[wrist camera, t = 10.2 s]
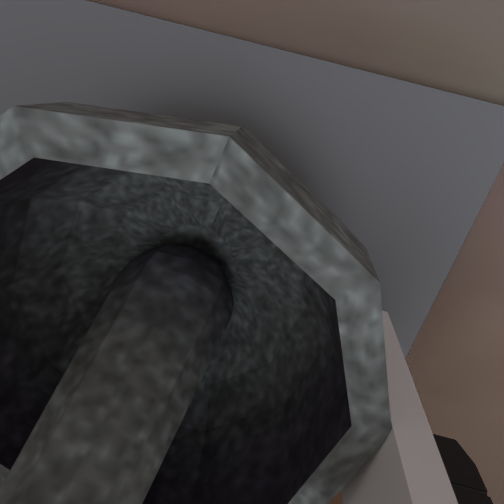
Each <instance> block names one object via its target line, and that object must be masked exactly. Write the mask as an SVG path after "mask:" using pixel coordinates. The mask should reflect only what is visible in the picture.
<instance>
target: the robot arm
mask: <svg viewBox="0 0 504 504" xmlns="http://www.w3.org/2000/svg"><path fill="white" fill-rule="evenodd" d="M382 316H383V328H384V341H385V353H386V366H387V378H388V391H389V403H390V416H391V428H392V429H391V431H390V433H389V435H388V437H387V439H386V440H385V441H384V442H383V444H382V445H381V446H380V447H379V448H378V449H377V450H376V451H375V452H374V454H373V455H372V456H371V457H370V458H369V459H368V460H367V461H366V463H365V464H364V465H363V466H362V467H361V468H360V469H359V470H358V471H357V473H356V474H355V475H354V476H353V477H352V478H351V479H350V480H349V482H348V483H347V484H346V485H345V486H344V487H343V488H342V489H341V496H342V504H493V503H492V500H491V498H490V497H488V496H487V489H486V487H485V485H484V483H483V481H482V478H481V476H480V474H479V472H478V469H477V467H476V465H475V464H474V462H473V461H472V460H471V459H470V457H469V456H468V455H467V454H466V452H465V451H464V450H463V449H462V447H461V446H460V445H459V444H458V442H457V441H456V440H454V439H450V438H446V437H443V436H439V435H435V434H432V431H431V428H430V426H429V423H428V420H427V417H426V415H425V412H424V409H423V407H422V404H421V401H420V398H419V396H418V393H417V390H416V388H415V385H414V382H413V379H412V377H411V374H410V371H409V369H408V366H407V363H406V360H405V358H404V355H403V352H402V350H401V347H400V344H399V341H398V339H397V336H396V333H395V331H394V328H393V325H392V322H391V320H390V317H389V314H388V312H386V311H382Z"/></svg>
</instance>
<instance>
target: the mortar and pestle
mask: <svg viewBox="0 0 504 504" xmlns="http://www.w3.org/2000/svg"><path fill="white" fill-rule="evenodd" d="M391 429H392V428H391V416H390V403H389V391H388V378H387V366H386V353H385V341H384V328H383V316H382V303H381V291H380V281H379V279H378V276H377V274H376V271H375V269H374V266H373V264H372V261H371V259H370V256H369V254H368V251H367V249H366V247H365V246H364V245H363V244H362V243H361V242H360V241H359V240H358V239H357V238H356V237H355V236H354V235H353V234H352V233H351V231H350V230H349V229H348V228H347V227H346V226H345V225H344V224H343V223H342V222H341V221H340V220H339V219H338V218H337V217H336V216H335V215H334V214H333V213H332V212H331V211H330V210H329V209H328V208H327V207H326V206H325V205H323V204H322V203H321V202H320V201H319V200H318V199H317V198H316V197H315V196H314V195H313V194H312V193H311V192H310V191H309V190H308V189H307V188H306V187H305V186H304V185H303V184H302V183H301V182H300V181H299V180H298V179H297V178H296V177H295V176H294V175H293V174H292V173H291V172H290V171H289V170H288V169H287V168H286V167H285V166H284V165H283V164H282V163H281V162H280V161H279V160H278V159H277V158H276V157H275V156H274V155H273V154H272V153H271V152H270V151H269V150H268V149H267V148H266V147H265V146H264V145H263V144H262V143H261V142H260V141H259V140H258V139H257V138H255V137H254V136H253V135H252V134H251V133H250V132H249V131H248V130H247V129H246V128H244V127H243V126H236V125H228V124H221V123H214V122H207V121H200V120H193V119H186V118H178V117H171V116H164V115H157V114H150V113H143V112H136V111H128V110H121V109H114V108H107V107H100V106H93V105H86V104H78V103H71V102H56V103H43V104H31V105H19V106H13V107H11V108H10V109H9V110H7V111H6V112H5V113H3V114H2V115H1V116H0V486H1V488H0V504H329V503H330V502H331V500H332V499H333V498H334V497H335V496H336V495H337V494H338V493H339V492H340V490H341V489H342V488H343V487H344V486H345V485H346V484H347V483H348V482H349V480H350V479H351V478H352V477H353V476H354V475H355V474H356V473H357V471H358V470H359V469H360V468H361V467H362V466H363V465H364V464H365V463H366V461H367V460H368V459H369V458H370V457H371V456H372V455H373V454H374V452H375V451H376V450H377V449H378V448H379V447H380V446H381V445H382V444H383V442H384V441H385V440H386V439H387V437H388V435H389V433H390V431H391Z"/></svg>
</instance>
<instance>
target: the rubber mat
mask: <svg viewBox="0 0 504 504" xmlns="http://www.w3.org/2000/svg"><path fill="white" fill-rule="evenodd" d="M56 102H71V103H78V104H86V105H93V106H100V107H107V108H114V109H121V110H128V111H136V112H143V113H150V114H157V115H164V116H171V117H178V118H186V119H193V120H200V121H207V122H214V123H221V124H228V125H236V126H243V127H244V128H246V129H247V130H248V131H249V132H250V133H251V134H252V135H253V136H254V137H255V138H257V139H258V140H259V141H260V142H261V143H262V144H263V145H264V146H265V147H266V148H267V149H268V150H269V151H270V152H271V153H272V154H273V155H274V156H275V157H276V158H277V159H278V160H279V161H280V162H281V163H282V164H283V165H284V166H285V167H286V168H287V169H288V170H289V171H290V172H291V173H292V174H293V175H294V176H295V177H296V178H297V179H298V180H299V181H300V182H301V183H302V184H303V185H304V186H305V187H306V188H307V189H308V190H309V191H310V192H311V193H312V194H313V195H314V196H315V197H316V198H317V199H318V200H319V201H320V202H321V203H322V204H323V205H325V206H326V207H327V208H328V209H329V210H330V211H331V212H332V213H333V214H334V215H335V216H336V217H337V218H338V219H339V220H340V221H341V222H342V223H343V224H344V225H345V226H346V227H347V228H348V229H349V230H350V231H351V233H352V234H353V235H354V236H355V237H356V238H357V239H358V240H359V241H360V242H361V243H362V244H363V245H364V246H365V247H366V249H367V251H368V254H369V256H370V259H371V261H372V264H373V266H374V269H375V271H376V274H377V276H378V279H379V281H380V291H381V303H382V311H386V312H388V314H389V317H390V320H391V322H392V325H393V328H394V331H395V333H396V336H397V339H398V341H399V344H400V347H401V350H402V352H403V355H404V358H406V356H407V355H408V353H409V351H410V349H411V347H412V345H413V343H414V341H415V339H416V337H417V335H418V333H419V331H420V329H421V327H422V325H423V323H424V321H425V319H426V317H427V315H428V313H429V311H430V309H431V307H432V305H433V303H434V301H435V299H436V297H437V295H438V293H439V291H440V289H441V287H442V285H443V283H444V281H445V279H446V277H447V275H448V273H449V271H450V269H451V267H452V265H453V263H454V261H455V259H456V257H457V255H458V253H459V251H460V249H461V247H462V245H463V243H464V241H465V239H466V237H467V235H468V233H469V231H470V229H471V227H472V225H473V223H474V221H475V219H476V217H477V215H478V213H479V211H480V209H481V207H482V205H483V203H484V201H485V199H486V197H487V195H488V193H489V191H490V189H491V187H492V185H493V183H494V181H495V179H496V177H497V175H498V173H499V171H500V169H501V167H502V165H503V163H504V106H502V105H498V104H494V103H490V102H486V101H482V100H478V99H474V98H470V97H466V96H462V95H458V94H454V93H450V92H446V91H442V90H438V89H434V88H430V87H426V86H423V85H419V84H415V83H411V82H407V81H403V80H399V79H395V78H391V77H387V76H383V75H379V74H375V73H371V72H367V71H363V70H359V69H355V68H351V67H347V66H344V65H340V64H336V63H332V62H328V61H324V60H320V59H316V58H312V57H308V56H304V55H300V54H296V53H292V52H288V51H284V50H280V49H276V48H272V47H269V46H265V45H261V44H257V43H253V42H249V41H245V40H241V39H237V38H233V37H229V36H225V35H221V34H217V33H213V32H209V31H205V30H201V29H197V28H193V27H190V26H186V25H182V24H178V23H174V22H170V21H166V20H162V19H158V18H154V17H150V16H146V15H142V14H138V13H134V12H130V11H126V10H122V9H118V8H114V7H111V6H107V5H103V4H99V3H95V2H91V1H87V0H0V116H1V115H2V114H3V113H5V112H6V111H7V110H9V109H10V108H11V107H13V106H19V105H31V104H43V103H56Z"/></svg>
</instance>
